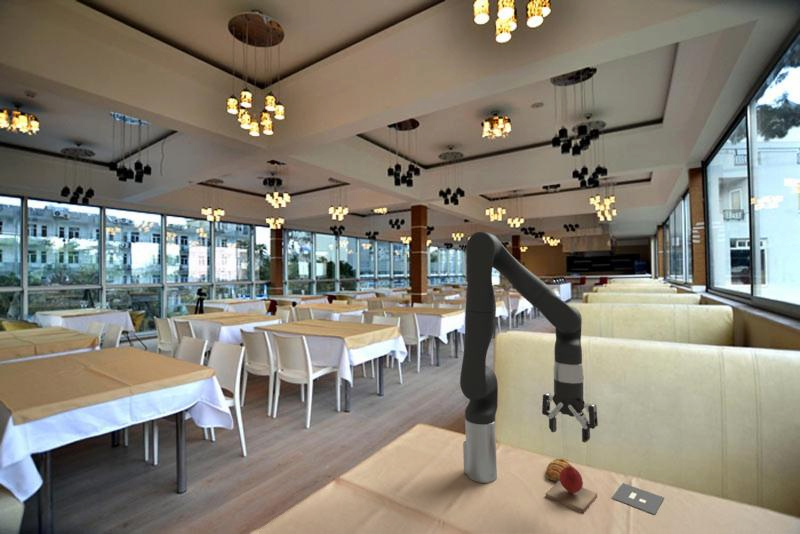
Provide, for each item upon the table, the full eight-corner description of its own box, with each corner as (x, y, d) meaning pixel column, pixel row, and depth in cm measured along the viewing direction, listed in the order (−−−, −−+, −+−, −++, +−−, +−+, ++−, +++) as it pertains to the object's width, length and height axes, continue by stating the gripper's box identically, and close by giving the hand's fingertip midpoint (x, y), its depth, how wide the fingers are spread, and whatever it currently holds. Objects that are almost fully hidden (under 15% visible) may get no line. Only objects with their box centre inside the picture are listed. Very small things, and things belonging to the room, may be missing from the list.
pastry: (563, 486, 107) (563, 473, 107) (540, 478, 111) (540, 465, 111) (574, 473, 113) (573, 461, 114) (552, 466, 118) (551, 454, 118)
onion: (581, 489, 103) (580, 460, 103) (584, 501, 98) (583, 471, 98) (558, 485, 105) (558, 457, 105) (560, 497, 100) (560, 467, 100)
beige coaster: (545, 496, 101) (545, 493, 102) (560, 482, 108) (560, 479, 108) (583, 513, 94) (583, 509, 94) (597, 496, 101) (597, 493, 101)
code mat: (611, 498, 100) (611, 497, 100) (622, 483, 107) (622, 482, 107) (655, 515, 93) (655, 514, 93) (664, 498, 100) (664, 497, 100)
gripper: (537, 375, 105) (538, 432, 105) (590, 386, 94) (591, 449, 94) (549, 370, 110) (549, 424, 110) (600, 380, 100) (601, 440, 99)
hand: (568, 436), depth 102 cm, fingers open, 8 cm apart
